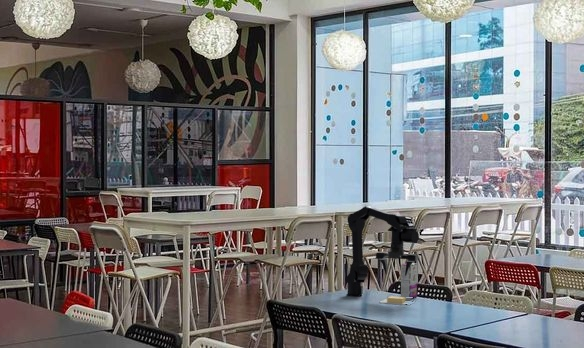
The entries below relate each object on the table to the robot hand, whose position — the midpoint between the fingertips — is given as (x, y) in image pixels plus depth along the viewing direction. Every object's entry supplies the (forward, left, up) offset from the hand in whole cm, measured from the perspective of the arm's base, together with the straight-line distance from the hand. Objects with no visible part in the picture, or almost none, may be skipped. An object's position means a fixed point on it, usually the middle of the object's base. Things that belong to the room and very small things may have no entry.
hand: (395, 275), depth 403 cm
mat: (+2, -3, -12) cm, 13 cm away
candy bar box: (+3, +17, -12) cm, 21 cm away
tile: (+2, -1, -11) cm, 11 cm away
